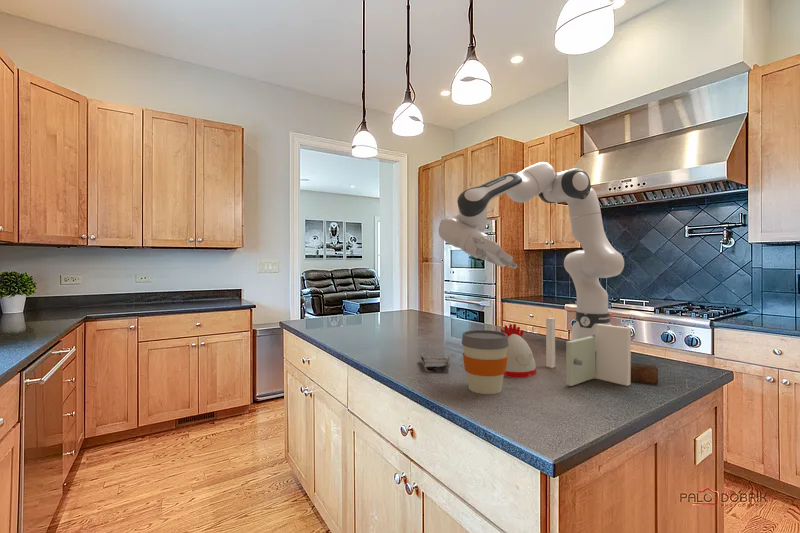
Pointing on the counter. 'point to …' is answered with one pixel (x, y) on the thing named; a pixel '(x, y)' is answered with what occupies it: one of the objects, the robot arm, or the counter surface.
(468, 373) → the reusable coffee cup
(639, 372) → the brick
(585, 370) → the door
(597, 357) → the door frame
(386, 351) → the counter surface
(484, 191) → the robot arm
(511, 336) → the kitchen timer
